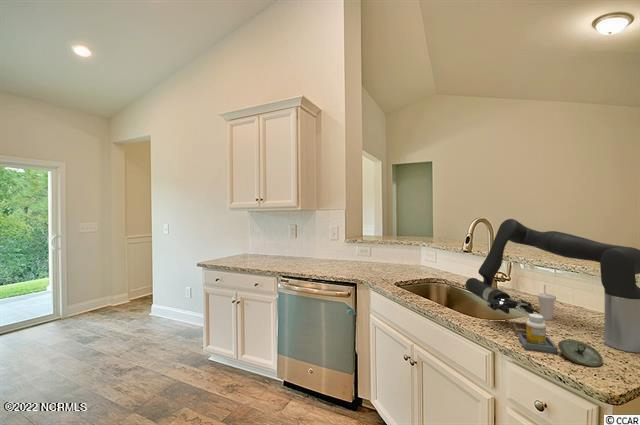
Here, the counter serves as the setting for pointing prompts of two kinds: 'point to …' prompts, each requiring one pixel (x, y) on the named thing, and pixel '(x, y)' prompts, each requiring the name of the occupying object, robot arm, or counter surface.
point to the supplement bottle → (536, 330)
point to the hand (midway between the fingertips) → (520, 311)
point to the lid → (580, 353)
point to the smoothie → (546, 304)
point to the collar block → (518, 325)
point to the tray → (548, 348)
